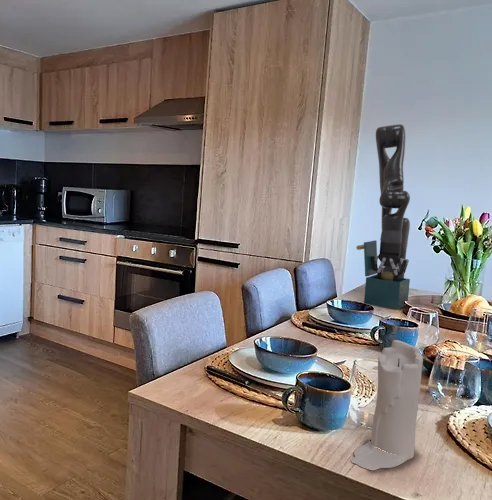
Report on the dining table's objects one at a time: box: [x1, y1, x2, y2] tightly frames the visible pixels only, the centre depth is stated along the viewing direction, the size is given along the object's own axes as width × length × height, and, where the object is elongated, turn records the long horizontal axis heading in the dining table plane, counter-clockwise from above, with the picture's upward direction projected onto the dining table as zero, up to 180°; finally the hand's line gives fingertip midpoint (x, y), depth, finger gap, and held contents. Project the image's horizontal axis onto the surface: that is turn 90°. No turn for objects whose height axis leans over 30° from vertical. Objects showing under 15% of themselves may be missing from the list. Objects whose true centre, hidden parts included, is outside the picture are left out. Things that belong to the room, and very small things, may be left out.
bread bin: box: [363, 274, 411, 310], centre depth 202 cm, size 13×11×11 cm
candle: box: [350, 339, 424, 471], centre depth 89 cm, size 7×14×20 cm, turn 125°
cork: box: [381, 271, 395, 281], centre depth 202 cm, size 6×6×11 cm
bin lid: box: [355, 240, 378, 277], centre depth 207 cm, size 14×11×5 cm
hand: (387, 282), depth 202 cm, fingers closed on cork, 5 cm apart
